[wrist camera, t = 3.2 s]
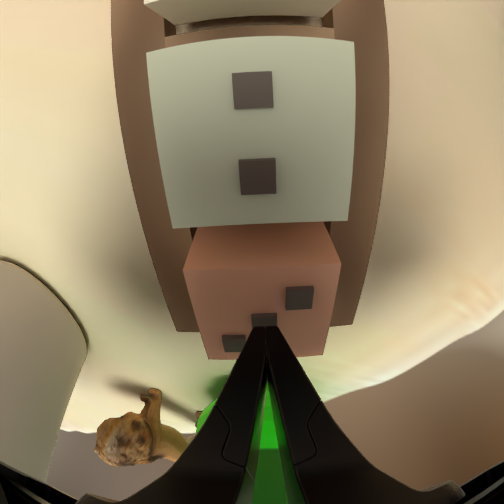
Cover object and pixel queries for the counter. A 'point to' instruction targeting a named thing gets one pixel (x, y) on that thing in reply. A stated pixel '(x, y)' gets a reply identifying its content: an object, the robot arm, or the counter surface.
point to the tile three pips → (262, 284)
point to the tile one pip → (236, 8)
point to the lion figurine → (140, 436)
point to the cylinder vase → (34, 369)
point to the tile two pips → (255, 129)
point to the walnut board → (147, 159)
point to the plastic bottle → (264, 460)
